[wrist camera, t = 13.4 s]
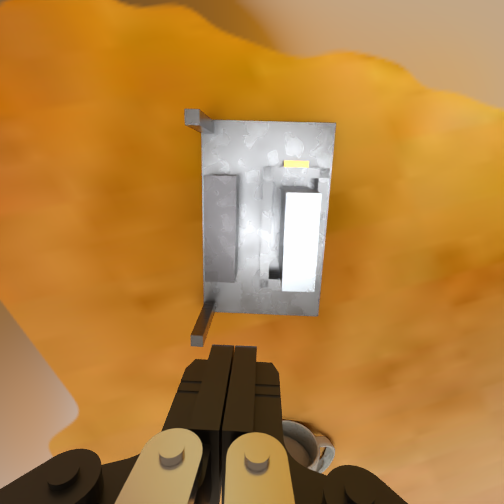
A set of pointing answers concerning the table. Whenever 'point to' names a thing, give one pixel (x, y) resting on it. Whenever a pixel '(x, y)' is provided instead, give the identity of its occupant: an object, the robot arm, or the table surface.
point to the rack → (255, 211)
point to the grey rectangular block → (298, 238)
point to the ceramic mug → (307, 446)
